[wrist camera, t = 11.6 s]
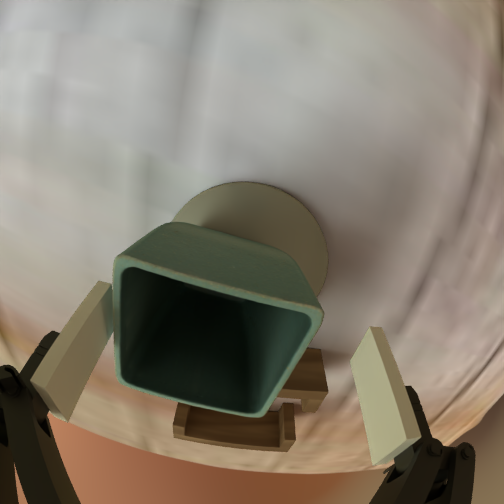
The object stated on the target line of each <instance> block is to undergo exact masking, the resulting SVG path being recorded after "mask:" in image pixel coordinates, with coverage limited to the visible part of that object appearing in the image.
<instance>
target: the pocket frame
mask: <svg viewBox="0 0 504 504" xmlns="http://www.w3.org/2000/svg"><path fill="white" fill-rule="evenodd" d="M327 394H328V386H327V381H326V376H325V370H324V365H323V360H322V355H321V350H320V349H310V348H307V349H306V351H305V352H304V354H303V355H302V357H301V358H300V360H299V362H298V363H297V365H296V366H295V368H294V370H293V371H292V373H291V375H290V376H289V378H288V380H287V381H286V383H285V384H284V386H283V387H282V389H281V391H280V392H279V394H278V395H277V397H281V398H294V399H301V403H302V412H312V413H315V412H316V411H317V409H318V408H319V406H320V405H321V403H322V401H323V400H324V398H325V397H326V395H327ZM173 434H174V438H178V439H182V440H187V441H192V442H198V443H204V444H210V445H216V446H223V447H231V448H239V449H249V450H261V451H277V452H288V450H289V449H290V448H291V446H292V445H293V444H294V442H295V441H296V435H295V420H294V406H293V404H291V403H283V404H282V406H281V408H280V410H279V412H273V411H267V413H266V414H265V415H264V416H263V417H259V418H257V417H245V416H240V415H235V414H230V413H225V412H220V411H215V410H211V409H206V408H201V407H196V406H192V405H188V404H185V403H180V402H178V405H177V409H176V413H175V417H174V422H173Z"/></svg>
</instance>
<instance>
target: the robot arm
mask: <svg viewBox="0 0 504 504" xmlns="http://www.w3.org/2000/svg"><path fill="white" fill-rule="evenodd" d="M113 328H114V327H113V292H112V284H110V283H106V282H102V281H98V282H97V283H96V285H95V286H94V287H93V289H92V290H91V291H90V293H89V294H88V295H87V297H86V298H85V299H84V301H83V302H82V303H81V305H80V306H79V307H78V309H77V310H76V311H75V313H74V314H73V316H72V317H71V318H70V320H69V321H68V323H67V324H66V325H65V327H64V328H63V330H62V331H61V333H58V332H55V331H51V332H50V333H48V334H47V335H46V336H44V338H43V339H42V340H41V342H40V343H39V346H37V348H36V349H35V351H34V353H33V354H32V355H31V357H30V358H29V360H28V361H27V363H26V364H25V366H24V367H23V369H22V370H21V372H20V374H19V373H18V371H17V370H16V369H15V368H14V367H13V366H11V365H3V366H0V504H19V502H18V496H17V488H16V480H15V468H14V463H15V467H16V470H17V474H18V477H19V480H20V483H21V486H22V489H23V491H24V495H25V497H26V500H27V503H28V504H81V503H80V501H79V499H78V497H77V495H76V492H75V490H74V488H73V486H72V484H71V481H70V479H69V477H68V474H67V472H66V469H65V467H64V464H63V461H62V459H61V456H60V453H59V450H58V448H57V445H56V442H55V438H54V435H53V432H52V429H51V426H50V422H49V419H48V417H47V414H48V412H49V410H50V411H51V413H52V414H53V416H55V417H57V418H59V419H61V420H63V421H65V422H67V423H68V422H69V419H70V417H71V415H72V413H73V410H74V408H75V406H76V404H77V402H78V400H79V397H80V395H81V393H82V391H83V389H84V387H85V385H86V383H87V381H88V379H89V377H90V375H91V373H92V371H93V369H94V367H95V365H96V363H97V361H98V359H99V357H100V355H101V353H102V351H103V350H104V348H105V346H106V344H107V342H108V340H109V338H110V336H111V335H112V333H113V331H114V330H113ZM350 364H351V368H352V372H353V376H354V380H355V384H356V389H357V393H358V397H359V401H360V406H361V410H362V415H363V419H364V424H365V429H366V434H367V439H368V444H369V449H370V454H371V460H372V465H373V466H374V465H381V464H387V463H388V462H390V461H391V460H392V459H394V462H395V464H393V465H392V466H390V467H389V468H387V469H386V470H385V471H384V472H383V473H384V474H385V473H386V472H388V471H389V472H388V474H387V476H386V477H385V479H384V481H383V483H382V484H381V486H380V487H379V489H378V491H377V492H376V494H375V495H374V497H373V498H372V500H371V502H370V503H369V504H471V499H472V491H473V483H474V471H475V450H474V448H473V446H472V445H470V444H469V443H466V442H463V443H461V444H460V445H458V446H457V447H447V446H443V445H442V443H441V442H440V441H439V440H438V439H435V438H433V437H432V435H431V432H430V429H429V426H428V423H427V420H426V417H425V414H424V411H422V410H423V409H422V406H421V404H420V400H419V397H418V395H417V393H416V392H415V390H414V389H413V388H412V387H411V386H405V385H404V383H403V380H402V377H401V374H400V372H399V369H398V366H397V364H396V361H395V359H394V356H393V354H392V351H391V349H390V346H389V344H388V341H387V339H386V336H385V334H384V332H383V329H382V328H381V327H369V328H368V330H367V332H366V334H365V336H364V337H363V339H362V341H361V343H360V345H359V346H358V348H357V350H356V351H355V353H354V355H353V357H352V358H351V360H350ZM446 481H447V484H446Z"/></svg>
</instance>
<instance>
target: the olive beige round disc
mask: <svg viewBox="0 0 504 504" xmlns="http://www.w3.org/2000/svg"><path fill="white" fill-rule="evenodd" d="M172 222H185V223H190V224H194V225H197V226H201V227H204V228H208V229H211V230H215V231H219V232H222V233H226V234H229V235H233V236H237V237H240V238H244V239H247V240H251V241H255V242H258V243H262V244H266V245H269V246H272V247H275V248H277V249H279V250H281V251H283V252H285V253H287V254H288V255H289V256H291V257H292V258H293V259H294V260H295V261H296V262H297V264H298V265H299V267H300V268H301V270H302V272H303V274H304V275H305V277H306V279H307V281H308V283H309V285H310V286H311V288H312V290H313V292H314V294H315V296H316V297H317V296H318V294H319V292H320V291H321V289H322V286H323V284H324V282H325V278H326V274H327V269H328V251H327V246H326V242H325V239H324V236H323V233H322V231H321V229H320V227H319V225H318V223H317V221H316V220H315V218H314V217H313V215H312V214H311V213H310V211H309V210H308V209H307V208H306V207H305V206H304V205H303V204H302V203H301V202H299V201H298V200H297V199H295V198H294V197H293V196H291V195H289V194H288V193H286V192H284V191H282V190H280V189H277V188H275V187H272V186H269V185H265V184H261V183H254V182H232V183H226V184H222V185H218V186H215V187H212V188H210V189H208V190H205V191H203V192H201V193H200V194H198V195H197V196H195V197H194V198H192V199H191V200H190V201H189V202H188V203H187V204H185V205H184V207H183V208H182V209H181V210H180V211H179V212H178V214H177V215H176V216H175V217H174V219H173V221H172Z"/></svg>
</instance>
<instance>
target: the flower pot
mask: <svg viewBox="0 0 504 504" xmlns="http://www.w3.org/2000/svg"><path fill="white" fill-rule="evenodd" d="M112 276H113V290H112V292H113V327H114V328H113V330H114V357H115V374H116V377H117V379H118V381H119V383H120V384H122V385H125V386H127V387H130V388H132V389H136V390H138V391H141V392H143V393H147V394H150V395H154V396H158V397H162V398H166V399H170V400H173V401H177V402H180V403H185V404H188V405H192V406H196V407H201V408H206V409H211V410H215V411H220V412H225V413H230V414H235V415H240V416H245V417H257V418H259V417H263V416H264V415H265V414H266V413H267V411H268V410H269V408H270V406H271V405H272V403H273V402H274V400H275V399H276V397H277V395H278V394H279V392H280V391H281V389H282V387H283V386H284V384H285V383H286V381H287V380H288V378H289V376H290V375H291V373H292V371H293V370H294V368H295V366H296V365H297V363H298V362H299V360H300V358H301V357H302V355H303V354H304V352H305V351H306V349H307V347H308V345H309V344H310V342H311V340H312V339H313V337H314V336H315V334H316V333H317V331H318V329H319V328H320V326H321V324H322V321H323V318H324V311H323V309H322V308H321V306H320V304H319V302H318V300H317V298H316V296H315V294H314V292H313V290H312V288H311V286H310V285H309V283H308V281H307V279H306V277H305V275H304V274H303V272H302V270H301V268H300V267H299V265H298V264H297V262H296V261H295V260H294V259H293V258H292V257H291V256H289V255H288V254H287V253H285V252H283V251H281V250H279V249H277V248H275V247H272V246H269V245H266V244H262V243H258V242H255V241H251V240H247V239H244V238H240V237H237V236H233V235H229V234H226V233H222V232H219V231H215V230H211V229H208V228H204V227H201V226H197V225H194V224H190V223H185V222H170V223H166V224H163V225H161V226H159V227H157V228H156V229H154V230H152V231H151V232H149V233H148V234H147V235H145V236H144V237H142V238H141V239H140V240H138V241H137V242H135V243H134V244H133V245H131V246H130V247H129V248H127V249H126V250H125V251H123V252H122V253H121V254H119V255H118V256H117V257H116V258H115V260H114V264H113V275H112Z"/></svg>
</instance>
